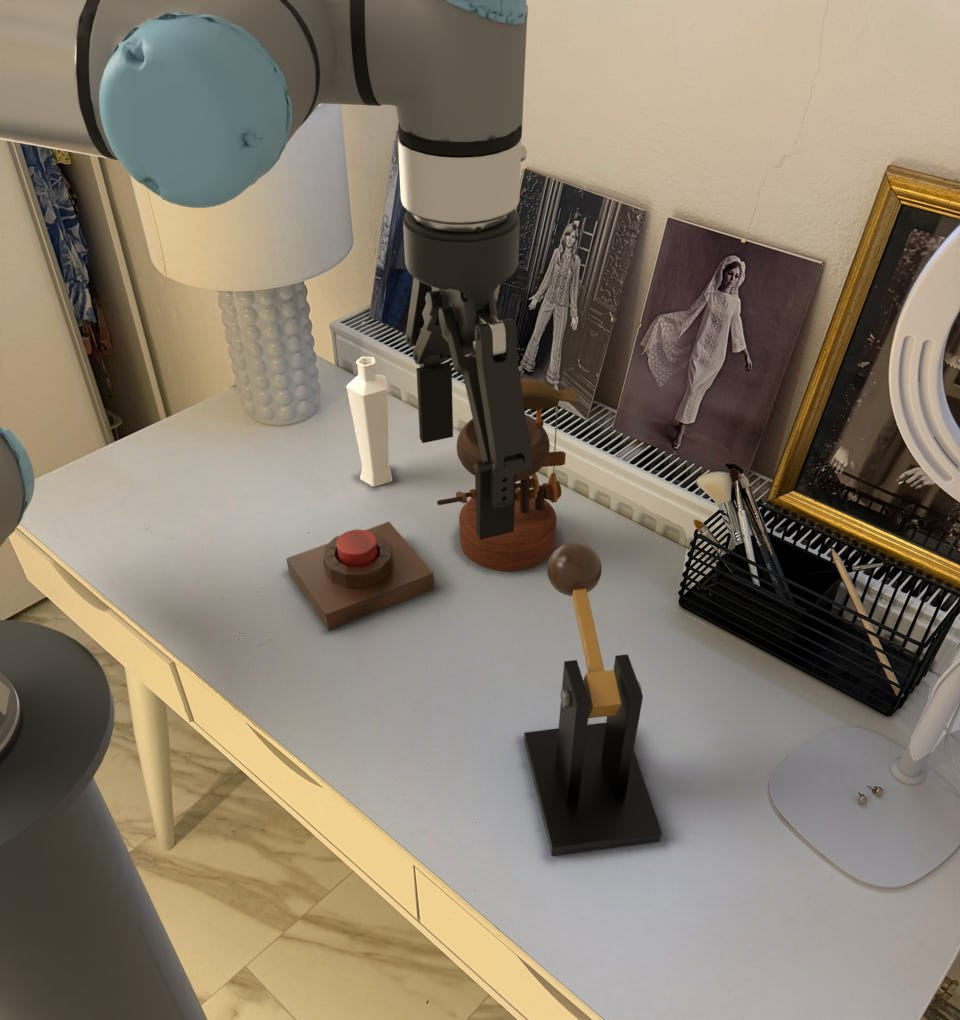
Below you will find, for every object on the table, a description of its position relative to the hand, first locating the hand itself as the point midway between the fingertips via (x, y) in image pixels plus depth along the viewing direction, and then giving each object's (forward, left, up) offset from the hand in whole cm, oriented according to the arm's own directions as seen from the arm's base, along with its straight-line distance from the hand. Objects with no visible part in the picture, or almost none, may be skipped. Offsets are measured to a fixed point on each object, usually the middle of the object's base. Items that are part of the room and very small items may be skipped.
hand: (464, 483), depth 77 cm
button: (-3, +17, -18) cm, 25 cm away
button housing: (-3, +17, -22) cm, 27 cm away
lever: (+4, -11, -10) cm, 16 cm away
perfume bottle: (+7, +33, -22) cm, 40 cm away
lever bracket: (+2, -17, -22) cm, 28 cm away
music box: (+13, +15, -22) cm, 29 cm away
